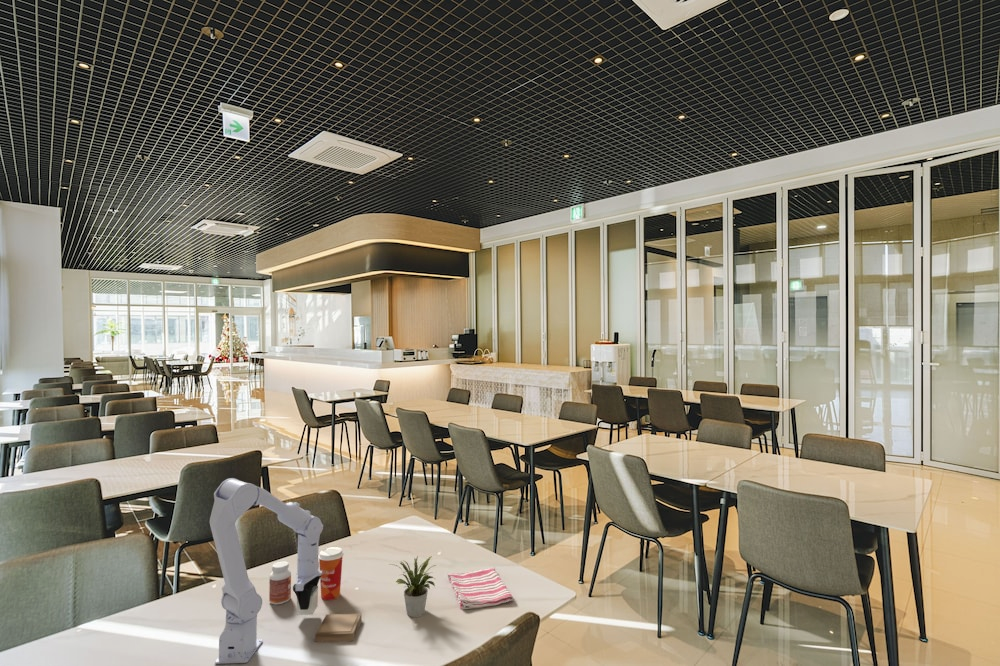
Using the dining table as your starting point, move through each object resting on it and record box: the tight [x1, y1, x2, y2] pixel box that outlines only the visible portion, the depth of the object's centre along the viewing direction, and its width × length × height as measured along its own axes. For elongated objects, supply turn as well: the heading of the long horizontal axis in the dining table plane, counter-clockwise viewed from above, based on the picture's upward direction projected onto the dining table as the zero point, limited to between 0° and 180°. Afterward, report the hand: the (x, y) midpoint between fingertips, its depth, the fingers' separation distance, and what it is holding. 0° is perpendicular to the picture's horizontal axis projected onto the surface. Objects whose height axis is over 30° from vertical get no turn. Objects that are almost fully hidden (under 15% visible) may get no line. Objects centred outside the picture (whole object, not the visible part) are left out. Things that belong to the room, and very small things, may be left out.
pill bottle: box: [268, 560, 292, 605], centre depth 156 cm, size 6×6×11 cm
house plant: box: [388, 555, 437, 618], centre depth 148 cm, size 14×14×16 cm
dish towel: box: [447, 567, 514, 610], centre depth 163 cm, size 17×23×4 cm
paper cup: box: [318, 546, 345, 601], centre depth 159 cm, size 8×8×14 cm
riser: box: [314, 613, 362, 643], centre depth 139 cm, size 10×10×2 cm
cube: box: [296, 585, 319, 616], centre depth 146 cm, size 5×5×6 cm
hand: (307, 604), depth 146 cm, fingers closed on cube, 4 cm apart
